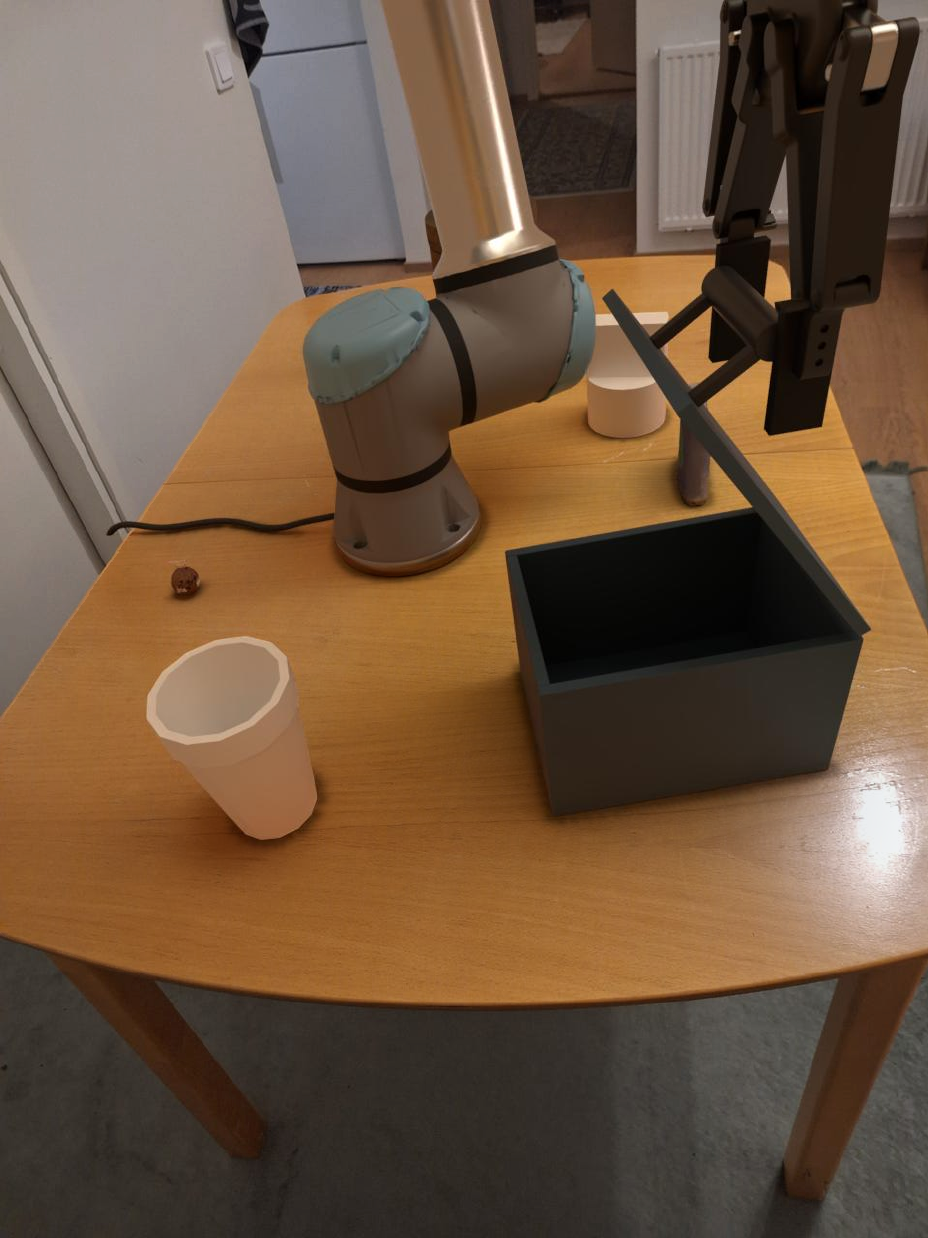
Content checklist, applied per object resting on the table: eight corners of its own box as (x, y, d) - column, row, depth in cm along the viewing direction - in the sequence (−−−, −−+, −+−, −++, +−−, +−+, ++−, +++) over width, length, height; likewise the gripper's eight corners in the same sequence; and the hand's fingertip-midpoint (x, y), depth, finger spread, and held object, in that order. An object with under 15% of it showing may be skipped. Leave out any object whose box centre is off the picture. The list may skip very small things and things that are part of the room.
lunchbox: (553, 817, 57) (539, 695, 48) (520, 670, 68) (504, 550, 59) (828, 769, 56) (864, 639, 48) (751, 630, 67) (769, 503, 59)
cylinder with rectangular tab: (583, 437, 93) (578, 338, 85) (592, 399, 100) (589, 303, 92) (662, 438, 91) (666, 335, 83) (667, 399, 97) (671, 300, 89)
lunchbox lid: (676, 414, 37) (800, 316, 34) (601, 297, 47) (691, 217, 45) (859, 637, 48) (962, 576, 45) (764, 501, 59) (844, 446, 56)
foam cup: (342, 747, 64) (298, 629, 55) (332, 850, 57) (279, 733, 48) (226, 761, 65) (164, 646, 56) (202, 864, 58) (127, 751, 49)
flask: (708, 506, 81) (716, 409, 74) (678, 507, 81) (683, 410, 74) (702, 457, 87) (708, 363, 80) (674, 458, 88) (678, 365, 81)
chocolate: (171, 601, 81) (156, 571, 79) (177, 587, 83) (162, 557, 80) (200, 598, 81) (185, 568, 78) (205, 584, 83) (191, 553, 80)
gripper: (650, -155, 37) (643, 327, 52) (862, -198, 22) (764, 506, 37) (811, -184, 37) (757, 307, 52) (1142, -250, 21) (928, 478, 37)
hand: (760, 389), depth 44 cm, fingers closed on lunchbox lid, 8 cm apart
